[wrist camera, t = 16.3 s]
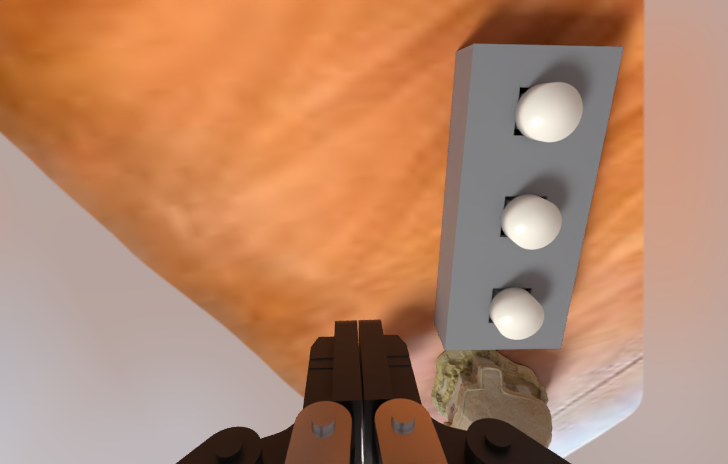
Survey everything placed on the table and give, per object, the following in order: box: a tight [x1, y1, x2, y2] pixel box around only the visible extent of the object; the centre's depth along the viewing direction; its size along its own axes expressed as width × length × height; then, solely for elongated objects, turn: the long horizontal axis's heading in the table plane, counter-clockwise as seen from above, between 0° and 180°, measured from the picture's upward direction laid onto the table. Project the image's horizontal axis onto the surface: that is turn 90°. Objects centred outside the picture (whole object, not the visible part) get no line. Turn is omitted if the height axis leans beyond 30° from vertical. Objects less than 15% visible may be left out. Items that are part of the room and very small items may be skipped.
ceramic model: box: [431, 350, 552, 448], centre depth 42 cm, size 14×11×10 cm
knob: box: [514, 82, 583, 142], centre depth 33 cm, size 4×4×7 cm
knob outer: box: [489, 287, 544, 340], centre depth 38 cm, size 4×4×7 cm
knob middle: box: [501, 194, 562, 250], centre depth 35 cm, size 4×4×7 cm
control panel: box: [434, 44, 624, 350], centre depth 37 cm, size 28×12×5 cm, turn 179°
